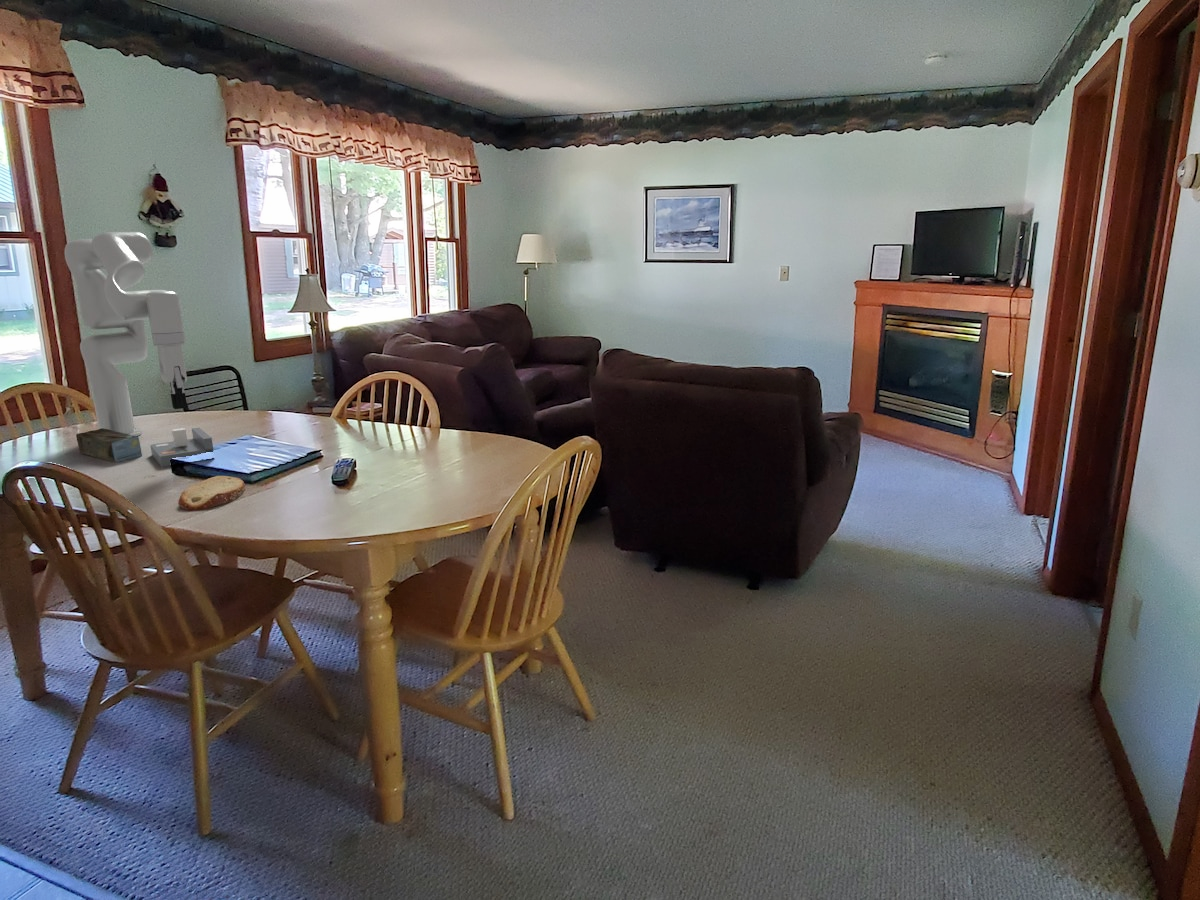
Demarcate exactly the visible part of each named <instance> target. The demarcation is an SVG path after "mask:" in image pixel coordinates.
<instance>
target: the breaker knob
mask: <svg viewBox="0 0 1200 900" xmlns="http://www.w3.org/2000/svg"><path fill="white" fill-rule="evenodd" d="M171 432H172V438H173V441H174V445H175V446H176V447H179V446H186V445H188V442H187V439H188V437H187V430H186V428H185V427H183V428H182V427H180V428H173V429H171Z"/></svg>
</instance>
